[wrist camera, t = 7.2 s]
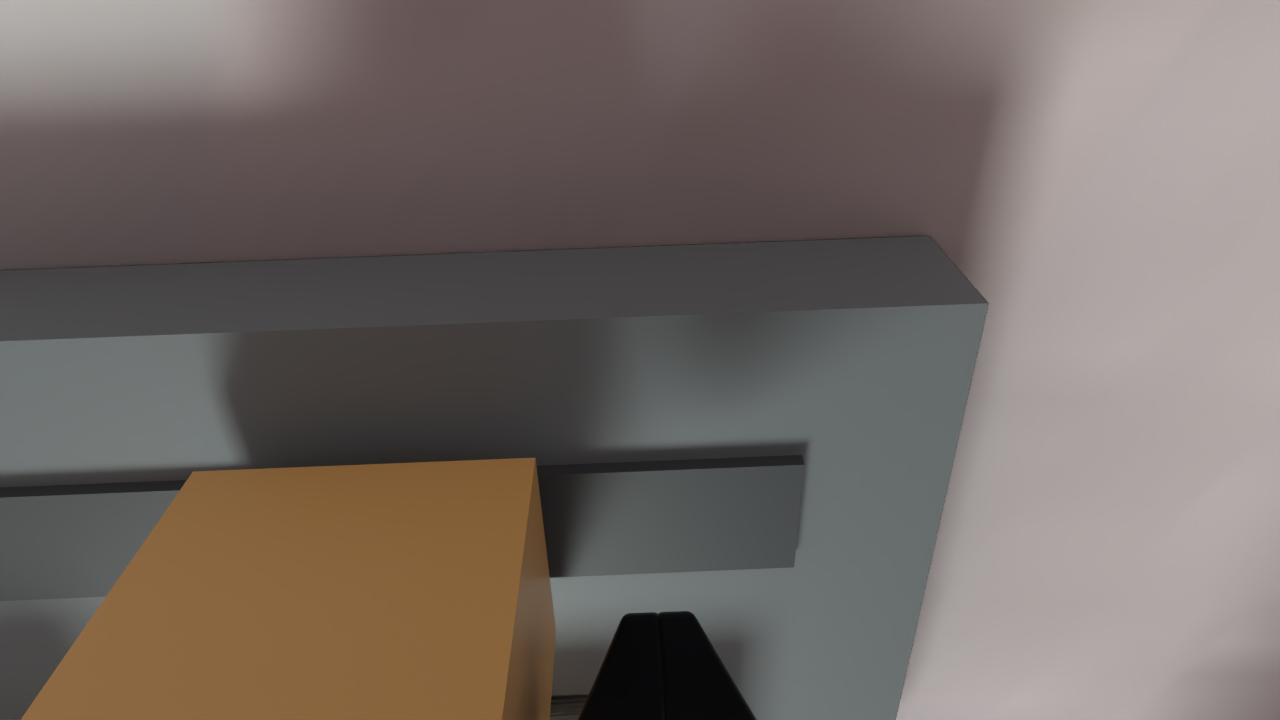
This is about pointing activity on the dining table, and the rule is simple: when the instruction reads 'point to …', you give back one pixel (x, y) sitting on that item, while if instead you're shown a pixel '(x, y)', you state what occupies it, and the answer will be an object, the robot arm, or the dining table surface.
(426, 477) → the block slider
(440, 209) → the dining table surface
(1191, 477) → the dining table surface
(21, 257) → the dining table surface
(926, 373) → the panel
